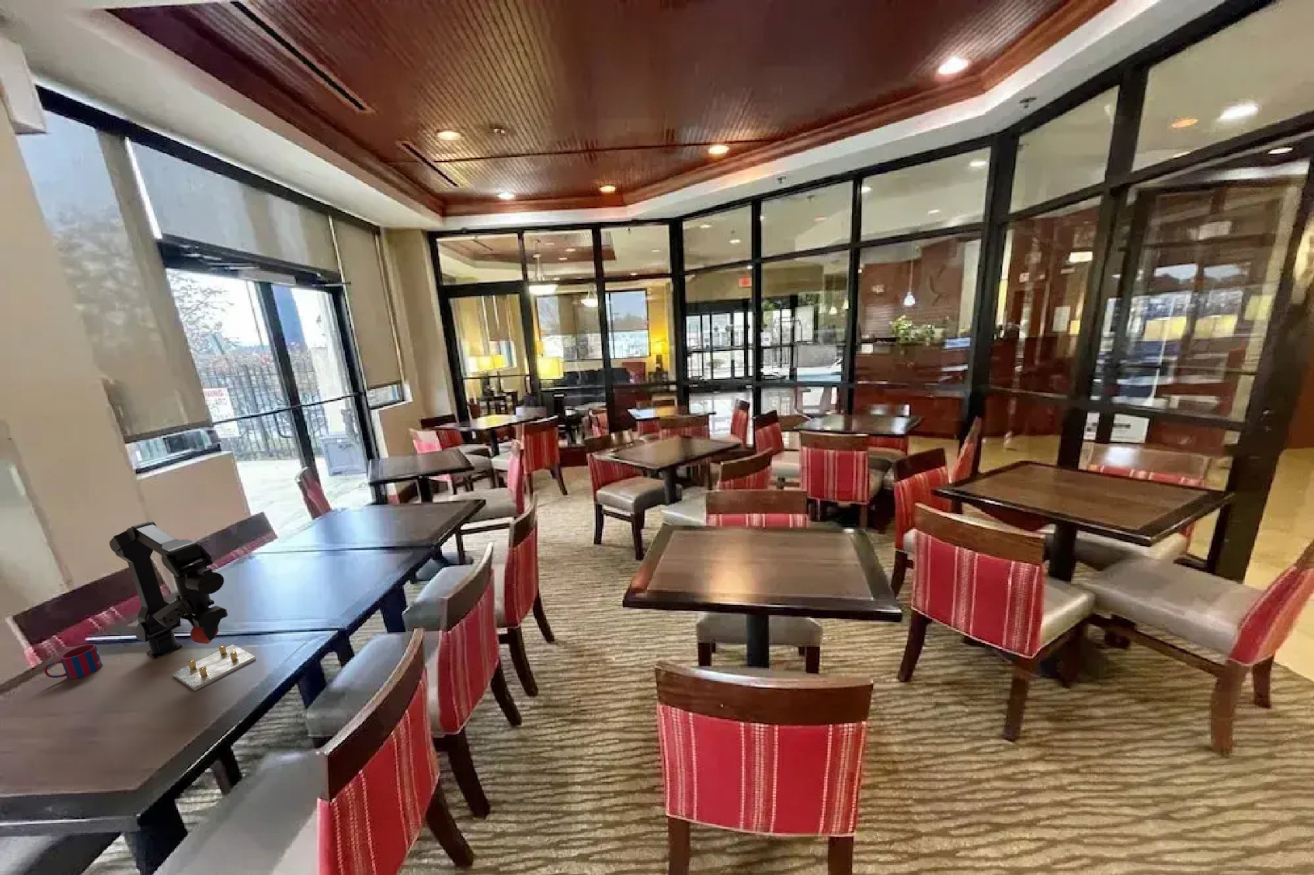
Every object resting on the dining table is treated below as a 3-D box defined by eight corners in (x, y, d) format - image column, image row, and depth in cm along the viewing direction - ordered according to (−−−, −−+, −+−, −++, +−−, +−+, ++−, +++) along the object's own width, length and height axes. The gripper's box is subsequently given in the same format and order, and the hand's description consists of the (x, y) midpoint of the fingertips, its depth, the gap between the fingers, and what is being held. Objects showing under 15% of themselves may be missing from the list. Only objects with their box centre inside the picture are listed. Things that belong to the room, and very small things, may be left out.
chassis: (173, 676, 136) (169, 665, 135) (233, 647, 148) (230, 637, 147) (194, 690, 129) (191, 679, 129) (255, 659, 141) (253, 648, 141)
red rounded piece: (190, 652, 133) (183, 627, 131) (198, 641, 138) (191, 616, 136) (217, 645, 136) (210, 620, 134) (224, 634, 141) (217, 610, 139)
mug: (102, 670, 140) (95, 649, 139) (48, 689, 133) (40, 668, 132) (103, 660, 145) (96, 640, 143) (51, 678, 138) (43, 658, 136)
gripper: (139, 594, 130) (154, 644, 134) (167, 610, 122) (183, 663, 125) (192, 575, 140) (205, 623, 143) (221, 589, 131) (235, 638, 135)
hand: (206, 636), depth 137 cm, fingers closed on red rounded piece, 6 cm apart
